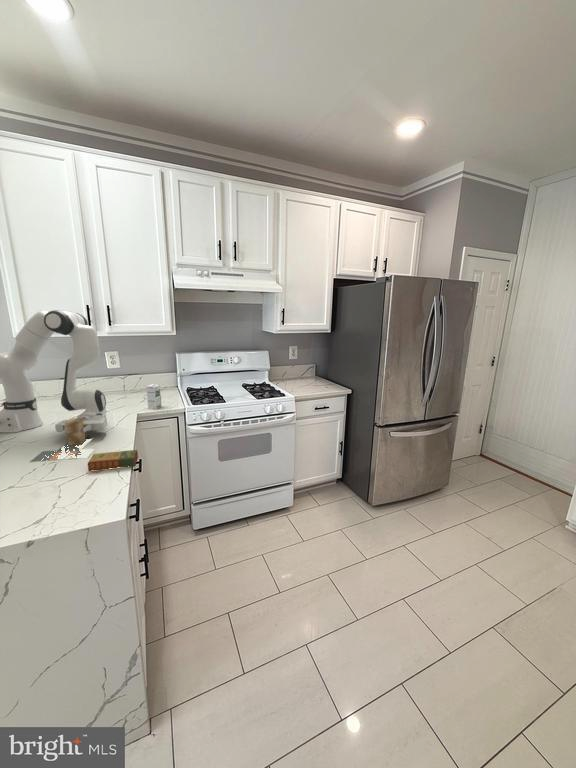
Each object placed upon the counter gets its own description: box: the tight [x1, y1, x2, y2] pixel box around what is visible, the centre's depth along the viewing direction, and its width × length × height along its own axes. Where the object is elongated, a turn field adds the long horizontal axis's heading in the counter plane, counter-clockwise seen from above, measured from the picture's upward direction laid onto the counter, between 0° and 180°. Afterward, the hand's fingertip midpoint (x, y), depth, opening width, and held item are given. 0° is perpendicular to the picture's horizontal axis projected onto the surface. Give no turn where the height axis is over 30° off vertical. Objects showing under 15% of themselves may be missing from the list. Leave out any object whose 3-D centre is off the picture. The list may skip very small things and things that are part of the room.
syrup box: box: [145, 383, 162, 410], centre depth 197 cm, size 6×6×14 cm
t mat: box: [29, 441, 81, 463], centre depth 138 cm, size 21×23×1 cm
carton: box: [87, 449, 139, 472], centre depth 124 cm, size 8×16×4 cm, turn 107°
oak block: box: [65, 417, 86, 446], centre depth 142 cm, size 5×5×11 cm
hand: (74, 431), depth 141 cm, fingers open, 5 cm apart
